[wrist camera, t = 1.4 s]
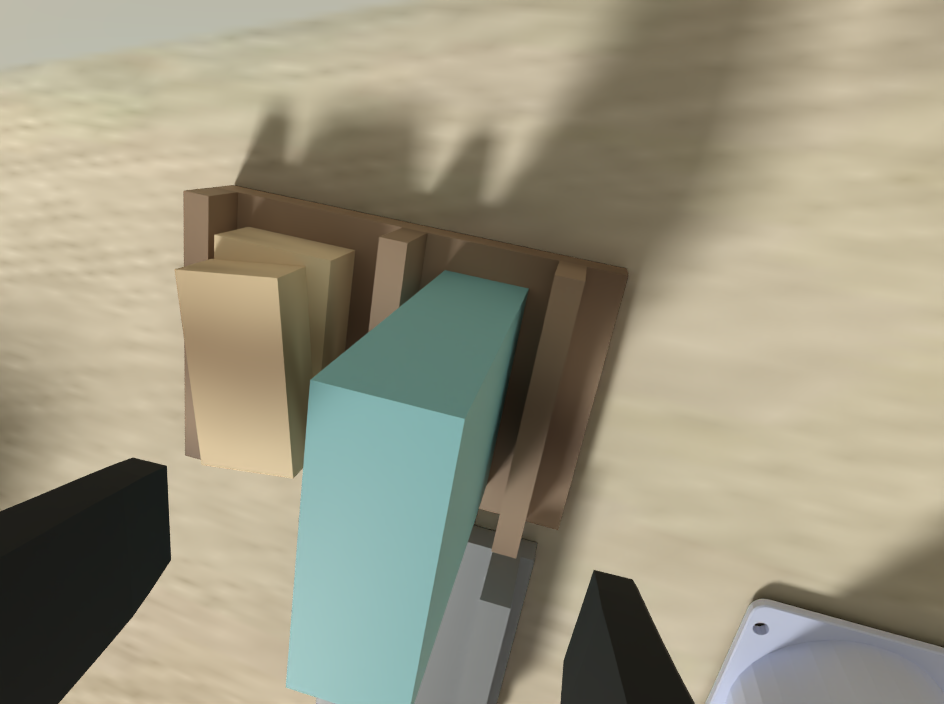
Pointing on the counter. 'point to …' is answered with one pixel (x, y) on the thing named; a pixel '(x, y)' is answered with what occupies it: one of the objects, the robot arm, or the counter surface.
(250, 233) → the offcut low
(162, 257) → the counter surface
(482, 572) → the holder
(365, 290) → the rack
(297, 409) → the offcut top
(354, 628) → the teal block
